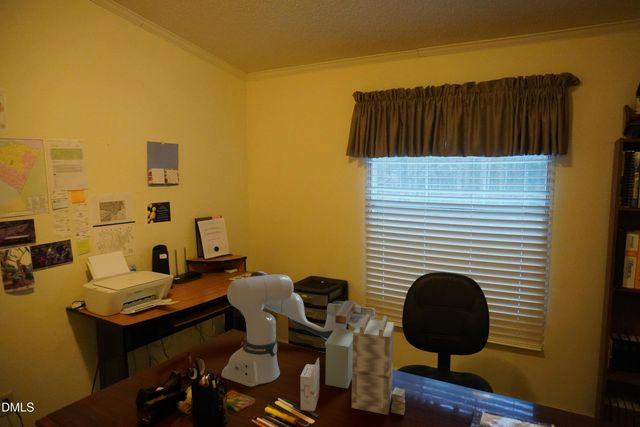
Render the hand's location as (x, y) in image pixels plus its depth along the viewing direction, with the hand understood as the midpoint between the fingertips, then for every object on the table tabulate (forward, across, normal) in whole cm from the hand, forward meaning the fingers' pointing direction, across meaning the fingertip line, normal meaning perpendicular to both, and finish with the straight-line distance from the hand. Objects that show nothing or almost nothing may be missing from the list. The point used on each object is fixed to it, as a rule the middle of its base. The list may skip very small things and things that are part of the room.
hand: (348, 307), depth 147 cm
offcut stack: (+7, -22, -33) cm, 40 cm away
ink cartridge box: (+12, +7, -36) cm, 39 cm away
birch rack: (+5, -13, -32) cm, 35 cm away
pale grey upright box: (-5, +1, -26) cm, 26 cm away
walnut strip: (+3, 0, -4) cm, 5 cm away
